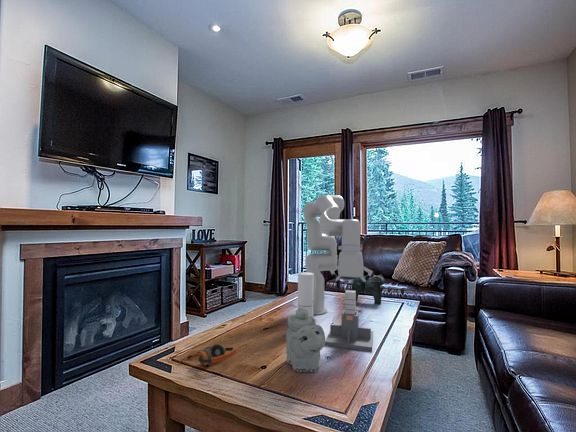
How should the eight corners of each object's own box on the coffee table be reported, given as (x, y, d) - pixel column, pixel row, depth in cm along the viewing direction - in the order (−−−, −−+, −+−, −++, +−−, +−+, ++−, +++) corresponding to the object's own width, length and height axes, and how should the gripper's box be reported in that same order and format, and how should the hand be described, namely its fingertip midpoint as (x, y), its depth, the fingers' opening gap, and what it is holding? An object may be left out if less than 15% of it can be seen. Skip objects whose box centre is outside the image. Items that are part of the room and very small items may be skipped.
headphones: (207, 339, 120) (246, 338, 109) (209, 353, 119) (248, 353, 108) (170, 355, 105) (210, 355, 95) (172, 371, 105) (212, 373, 94)
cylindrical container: (315, 327, 143) (315, 273, 143) (309, 331, 136) (310, 275, 137) (301, 324, 146) (301, 271, 146) (295, 329, 139) (295, 274, 140)
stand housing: (324, 345, 121) (325, 317, 122) (331, 330, 139) (331, 305, 139) (372, 351, 116) (372, 322, 117) (373, 334, 133) (373, 309, 134)
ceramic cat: (384, 303, 187) (384, 270, 187) (381, 305, 181) (381, 271, 182) (353, 299, 198) (353, 267, 198) (349, 301, 192) (349, 268, 193)
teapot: (319, 383, 92) (319, 320, 93) (273, 374, 98) (274, 314, 98) (332, 361, 108) (332, 307, 108) (291, 354, 113) (292, 302, 114)
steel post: (344, 336, 126) (344, 292, 127) (345, 332, 130) (346, 290, 130) (354, 337, 125) (355, 292, 125) (355, 333, 129) (355, 290, 129)
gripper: (328, 249, 127) (328, 291, 126) (372, 250, 122) (372, 293, 121) (331, 248, 134) (331, 287, 134) (372, 249, 129) (372, 290, 129)
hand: (350, 290), depth 128 cm, fingers open, 9 cm apart
